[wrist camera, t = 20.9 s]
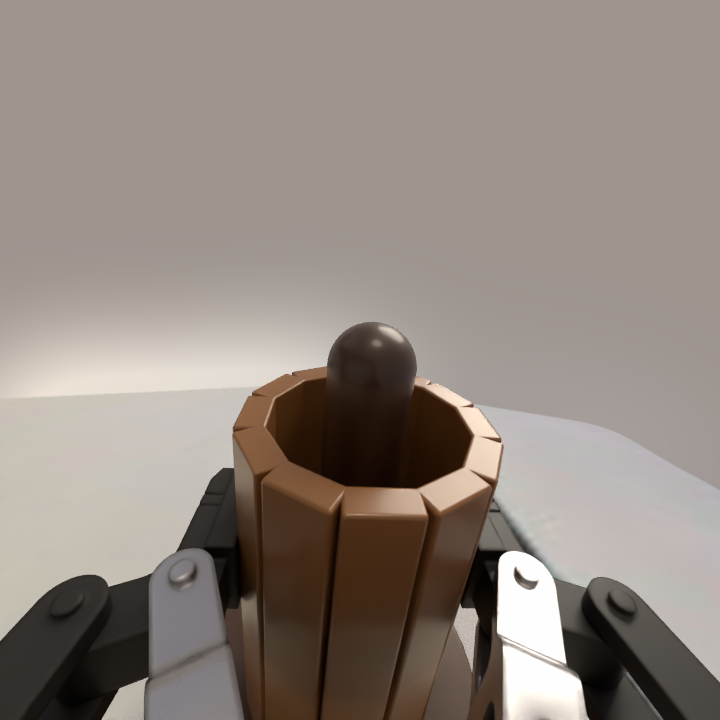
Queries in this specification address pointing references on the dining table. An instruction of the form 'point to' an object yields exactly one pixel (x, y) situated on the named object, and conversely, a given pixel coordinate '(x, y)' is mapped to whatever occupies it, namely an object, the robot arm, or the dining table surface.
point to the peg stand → (371, 468)
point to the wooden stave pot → (354, 554)
